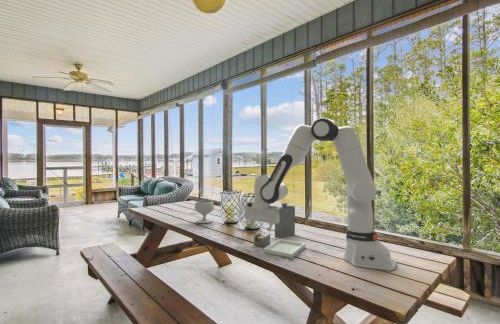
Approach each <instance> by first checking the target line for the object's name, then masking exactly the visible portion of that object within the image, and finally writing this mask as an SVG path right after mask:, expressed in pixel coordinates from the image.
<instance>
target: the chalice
mask: <svg viewBox="0 0 500 324" xmlns="http://www.w3.org/2000/svg"><path fill="white" fill-rule="evenodd" d="M214 205H215V204H214V201H213V200H209V199H201V200H196V202H195V204H194V210H195V211H196V212H197V213H199V214H200V215H201V216H202V218H200V219H197V220H195V223H198V224H210V223H212V222H213V220H212V219H209V218H207V217H206V216H207V215H208V214H210V213H211V212H213V211H214V210H215V206H214Z"/></svg>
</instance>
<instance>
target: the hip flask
mask: <svg viewBox="0 0 500 324" xmlns="http://www.w3.org/2000/svg"><path fill="white" fill-rule="evenodd" d="M278 208H279V217H280V222H279V223H277V224H274V238H276V239H280V238H282V237H288V236H294V235H296V233H295V232H296V226H295V225H296V205H288V202H281V206H280V207H278Z"/></svg>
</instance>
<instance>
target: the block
mask: <svg viewBox="0 0 500 324" xmlns="http://www.w3.org/2000/svg"><path fill="white" fill-rule="evenodd" d="M265 236H266V235H261V236H259V237H257V242H263V243H264V237H265Z"/></svg>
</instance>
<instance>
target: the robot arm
mask: <svg viewBox="0 0 500 324" xmlns="http://www.w3.org/2000/svg"><path fill="white" fill-rule="evenodd" d="M315 141H321V142H328V141H331V142H332V143H333V144H334V147H335V150H336V153H337V156H338V160H339V164H340V167H341V169H342V170H341V171H342V173H343V176H344V178H345V182H346V202H347V206H346V207H347V227H346V231H345V234H346V235H345V238H346V245H345V246H346V247H345V252H344V255H343V259H344V261H346V262H347V263H350V264H351V265H353V266H354V267H358V268H366V269H372V270H373V269H374V270H380V271H381V270H382V271H387V272H388V271H389V272H390V271H395V269H396V268H397V261H396V260H395V259H393V258H392V257H391V251H390V249H389V248H388V247H387V246H385V245H384V244H383V243H381V242H380V240H379V239H378V238H379V237H378V232H377V231H376V232H375V231H374V212H373V205H372V202H373V200H375V198H376V195H377V188H376V185H375V182H374V179H373V177H372V174H371V172H370V169H369V166H368V163H367V161H366V157H365V156H364V152H363V149H362V145H361V141H360V139H359V137H358V134H357V133H356V131H355V129H354V128H353V127H351V126H348V125H347V126H345V125H344V126H337V125H336V123H335V122H334V121H333V120H332V119H330V118H327V117H319V118H317V119H315V120H314V121H313V122H312V124H311V125H310V126H309V125H307V124H300V125H298V126H297V127H295V129H294V131H292V134H291V135H290V138H289V139H288V142H286V143H287V144H286V146H285V148H284V150H283V152H282V154H281V156H280V158H279V160H278V162H277V164H276V166H275V167H274V169H273V171H272V172H271V175H270V174H262V175H260V174H259V175H257V176H256V177H255V179H254V185H253V192H254V197H253V200H251V201H248V202H246V203H245V208H244V215H243V216H244V219H245V220H247V221H250V224H251V228H252V229H256V228H257V224H255V222H261V223H268V225H269V226H268V227H266V229H267V231H268V232H271V231H272V227H273V226H274V225H275V224H277V223H279V222H280V217H279V207H278V206H277V205H271V204H274V203H275V202H277V201H281V200H283V199H284V198H286V197H287V195H288V192H289V188H288V186H287V184H286V183H284V182H283V181H284V179H285V177H286V176H287V174H288V172H289V171H290V170H291V169H292V168H294V167H295V166H297V165H298V164H300V163H301V162H303V160H304V159H305V157H306V156H307V154H308V153H309V151H310V148H311V146H312V144H313V143H314V142H315Z"/></svg>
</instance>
